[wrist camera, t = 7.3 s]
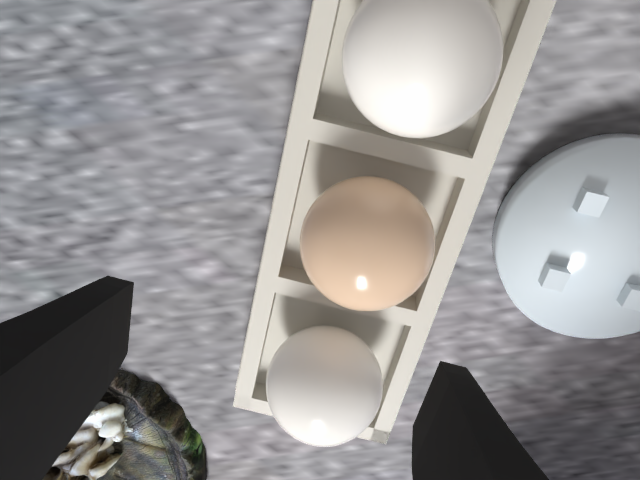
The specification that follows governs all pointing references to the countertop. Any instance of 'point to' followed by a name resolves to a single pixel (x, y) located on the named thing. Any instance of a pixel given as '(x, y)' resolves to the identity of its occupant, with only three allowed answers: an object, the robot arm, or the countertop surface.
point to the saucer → (575, 238)
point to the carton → (380, 161)
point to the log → (133, 438)
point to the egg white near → (421, 63)
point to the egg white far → (324, 386)
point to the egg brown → (367, 243)
